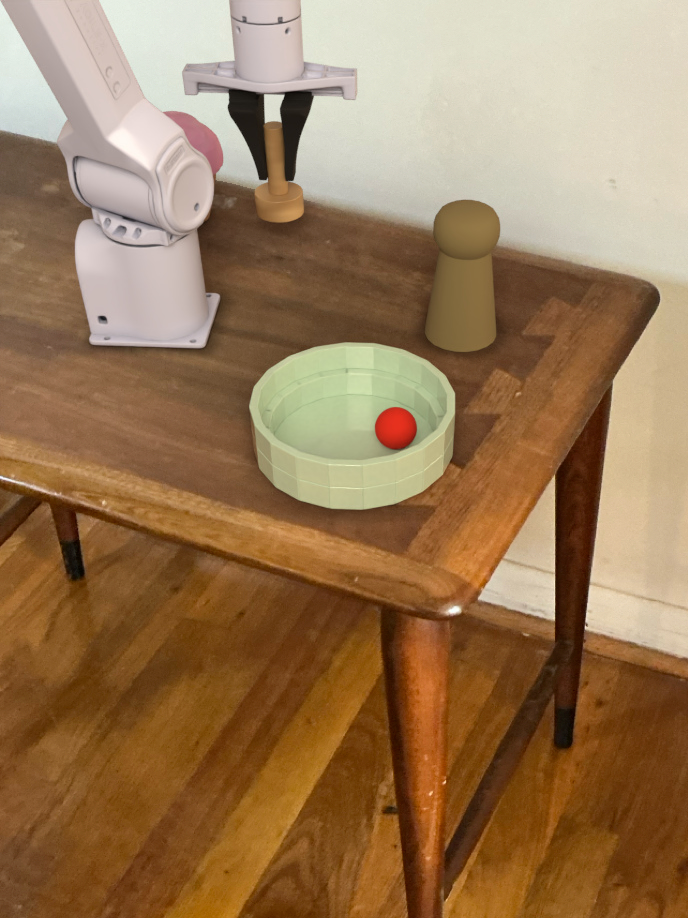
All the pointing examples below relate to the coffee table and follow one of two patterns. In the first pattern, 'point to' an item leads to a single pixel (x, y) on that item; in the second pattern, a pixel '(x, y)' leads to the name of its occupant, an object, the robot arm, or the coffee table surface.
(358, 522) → the coffee table surface
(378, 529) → the coffee table surface
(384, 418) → the red ball
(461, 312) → the cork
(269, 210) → the wooden peg on base
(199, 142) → the cupcake
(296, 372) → the bowl
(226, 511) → the coffee table surface
